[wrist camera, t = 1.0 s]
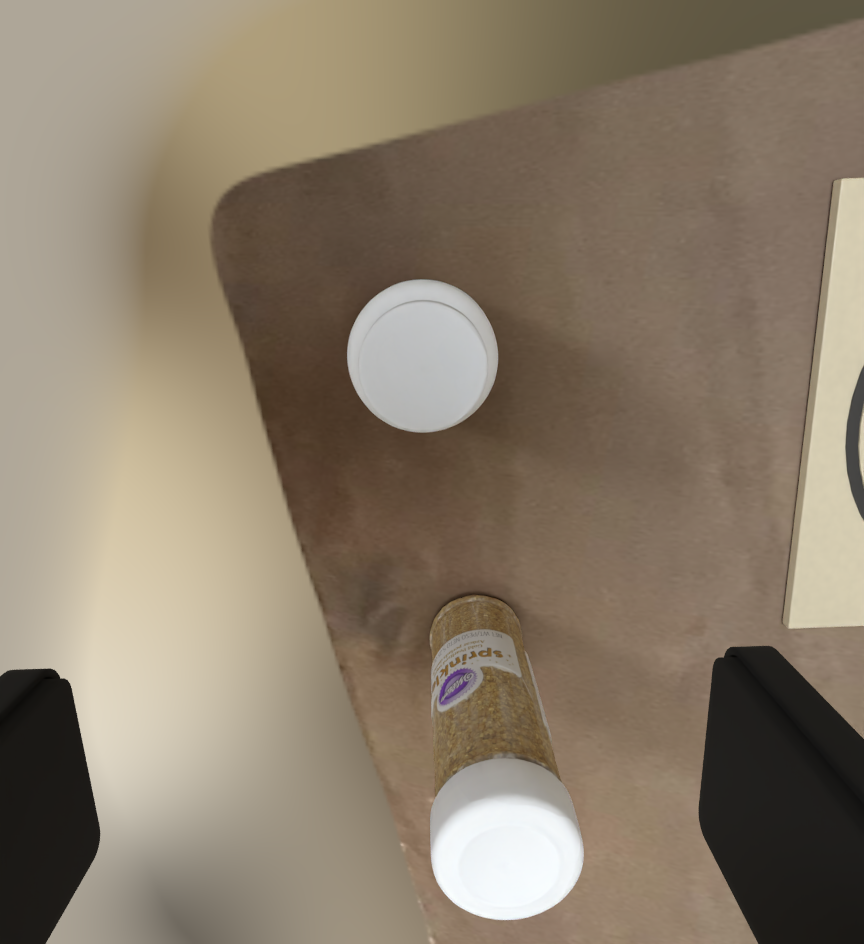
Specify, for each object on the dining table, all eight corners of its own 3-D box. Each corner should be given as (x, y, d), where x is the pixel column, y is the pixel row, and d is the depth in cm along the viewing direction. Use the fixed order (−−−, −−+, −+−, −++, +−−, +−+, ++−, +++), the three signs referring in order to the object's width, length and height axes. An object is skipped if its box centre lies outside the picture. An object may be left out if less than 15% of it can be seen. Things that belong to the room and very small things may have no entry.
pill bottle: (342, 310, 28) (305, 318, 19) (455, 260, 27) (469, 245, 19) (392, 423, 29) (378, 477, 21) (501, 378, 29) (533, 413, 20)
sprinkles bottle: (466, 574, 31) (496, 774, 18) (540, 625, 32) (620, 853, 19) (409, 643, 32) (399, 881, 19) (483, 691, 33) (521, 952, 20)
